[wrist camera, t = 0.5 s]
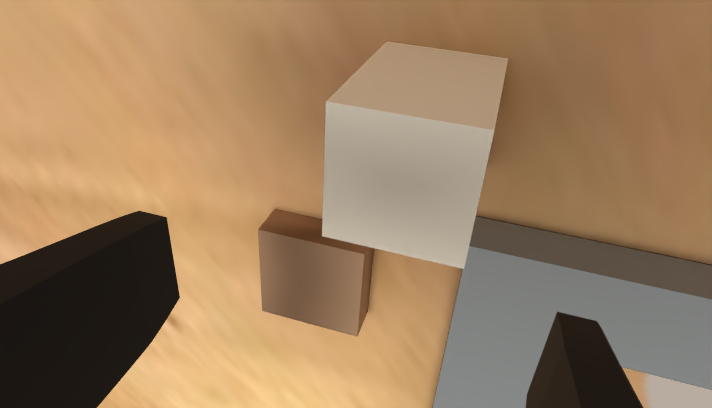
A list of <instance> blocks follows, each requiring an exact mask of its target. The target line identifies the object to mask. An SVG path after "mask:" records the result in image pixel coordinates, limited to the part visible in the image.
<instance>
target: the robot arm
mask: <svg viewBox="0 0 712 408" xmlns="http://www.w3.org/2000/svg"><path fill="white" fill-rule="evenodd" d="M179 298H180V296H179V290H178V284H177V278H176V272H175V266H174V260H173V254H172V248H171V242H170V235H169V229H168V223H167V217H163V216H159V215H154V214H150V213H146V212H142V211H137V212H134V213H131V214H128V215H125V216H122V217H119V218H116V219H114V220H111V221H108V222H106V223H103V224H101V225H98V226H96V227H93V228H91V229H88V230H86V231H83V232H81V233H78V234H76V235H73V236H71V237H68V238H66V239H63V240H61V241H58V242H56V243H53V244H51V245H48V246H46V247H43V248H41V249H38V250H36V251H34V252H31V253H29V254H26V255H24V256H21V257H19V258H16V259H14V260H11V261H8V262H6V263H3V264H0V408H97V407H98V406H99V404H100V403H101V402H102V401H103V400H104V399H105V397H106V396H107V395H108V394H109V393H110V391H111V390H112V389H113V388H114V387H115V386H116V384H117V383H118V382H119V381H120V380H121V378H122V377H123V376H124V375H125V374H126V372H127V371H128V370H129V369H130V368H131V366H132V365H133V364H134V363H135V362H136V360H137V359H138V358H139V357H140V356H141V354H142V353H143V352H144V351H145V349H146V348H147V347H148V346H149V344H150V343H151V342H152V341H153V339H154V338H155V336H156V334H157V333H158V331H159V330H160V328H161V327H162V325H163V324H164V322H165V321H166V319H167V318H168V316H169V314H170V313H171V311H172V309H173V308H174V306H175V304H176V303H177V301H178V299H179ZM526 408H643V406H642V405H641V403H640V401H639V399H638V397H637V395H636V393H635V392H634V390H633V388H632V386H631V384H630V382H629V380H628V379H627V377H626V375H625V373H624V371H623V369H622V367H621V365H620V363H619V361H618V359H617V357H616V355H615V353H614V351H613V349H612V347H611V346H610V344H609V342H608V340H607V338H606V336H605V334H604V332H603V330H602V328H601V326H600V325H599V323H598V322H597V321H594V320H590V319H586V318H582V317H578V316H573V315H569V314H565V313H561V312H557V313H556V316H555V319H554V322H553V324H552V327H551V330H550V332H549V335H548V338H547V341H546V343H545V346H544V349H543V352H542V354H541V357H540V360H539V363H538V365H537V368H536V371H535V373H534V376H533V379H532V382H531V384H530V387H529V390H528V393H527V399H526Z"/></svg>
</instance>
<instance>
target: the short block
mask: <svg viewBox="0 0 712 408" xmlns="http://www.w3.org/2000/svg"><path fill="white" fill-rule="evenodd" d="M258 235H259V255H260V274H261V294H262V311H265V312H269V313H272V314H276V315H280V316H283V317H287V318H291V319H294V320H298V321H302V322H305V323H309V324H313V325H316V326H320V327H324V328H327V329H331V330H335V331H338V332H342V333H346V334H349V335H353V336H358V334H359V331H360V329H361V326H362V324H363V322H364V319H365V317H366V314H367V312H368V304H369V294H370V283H371V273H372V262H373V252H374V248H371V247H366V246H362V245H358V244H354V243H349V242H345V241H341V240H336V239H332V238H328V237H323V236H322V219H317V218H313V217H308V216H304V215H299V214H295V213H290V212H286V211H282V210H277V209H275V210H274V211H273V212H272V214H271V215H270V216H269V217H268V218H267V220H266V221H265V222H264V223H263V224H262V226H261V227H260V228H259V229H258Z"/></svg>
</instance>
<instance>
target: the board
mask: <svg viewBox="0 0 712 408" xmlns="http://www.w3.org/2000/svg"><path fill="white" fill-rule="evenodd" d="M557 312H561V313H565V314H569V315H573V316H578V317H582V318H586V319H590V320H594V321H597V322H598V323H599V325H600V326H601V328H602V330H603V332H604V334H605V336H606V338H607V340H608V342H609V344H610V346H611V347H612V349H613V351H614V353H615V355H616V357H617V359H618V361H619V363H620V365H621V367H624V368H628V369H632V370H636V371H640V372H644V373H648V374H651V375H656V376H660V377H663V378H667V379H671V380H675V381H679V382H683V383H687V384H691V385H695V386H698V387H703V388H707V389H710V390H712V265H707V264H703V263H698V262H693V261H688V260H683V259H679V258H674V257H669V256H664V255H659V254H655V253H650V252H645V251H640V250H635V249H631V248H626V247H621V246H616V245H611V244H606V243H602V242H597V241H592V240H587V239H582V238H578V237H573V236H568V235H563V234H558V233H554V232H549V231H544V230H539V229H534V228H530V227H525V226H520V225H515V224H510V223H506V222H501V221H496V220H491V219H486V218H482V217H477V216H476V217H475V222H474V226H473V231H472V235H471V240H470V244H469V249H468V253H467V258H466V263H465V267H464V269H462V274H461V279H460V283H459V288H458V292H457V297H456V302H455V306H454V311H453V315H452V320H451V325H450V329H449V334H448V338H447V343H446V347H445V352H444V357H443V361H442V366H441V370H440V375H439V380H438V384H437V389H436V393H435V398H434V403H433V407H432V408H526V399H527V393H528V390H529V387H530V384H531V382H532V379H533V376H534V373H535V371H536V368H537V365H538V363H539V360H540V357H541V354H542V352H543V349H544V346H545V343H546V341H547V338H548V335H549V332H550V330H551V327H552V324H553V322H554V319H555V316H556V313H557Z"/></svg>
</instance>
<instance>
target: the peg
mask: <svg viewBox="0 0 712 408" xmlns="http://www.w3.org/2000/svg"><path fill="white" fill-rule="evenodd" d="M507 63H508V58H502V57H495V56H488V55H481V54H474V53H467V52H460V51H452V50H445V49H438V48H431V47H424V46H417V45H410V44H403V43H396V42H388V41H386V42H385V43H384V44H383V45H382V46H381V47H380V48H379V49H378V50H377V51H376V52H375V53H374V54H373V55H372V56H371V57H370V58H369V59H368V60H367V61H366V62H365V63H364V64H363V65H362V66H361V67H360V68H359V69H358V70H357V71H356V72H355V73H354V74H353V75H352V76H351V77H350V78H349V79H348V80H347V81H346V82H345V83H344V84H343V85H342V86H341V87H340V88H339V89H338V90H337V91H336V92H335V93H334V94H333V95H332V96H331V97H330V98H329V99H328V100H327V101H326V116H325V150H324V185H323V219H322V236H323V237H328V238H332V239H336V240H341V241H345V242H349V243H354V244H358V245H362V246H366V247H371V248H375V249H379V250H384V251H388V252H392V253H397V254H401V255H405V256H410V257H414V258H418V259H423V260H427V261H431V262H436V263H440V264H444V265H449V266H453V267H457V268H462V269H464V267H465V263H466V258H467V253H468V249H469V244H470V240H471V235H472V231H473V226H474V222H475V217H476V212H477V208H478V203H479V199H480V194H481V190H482V185H483V181H484V176H485V171H486V167H487V162H488V158H489V153H490V149H491V144H492V140H493V135H494V130H495V125H496V120H497V115H498V110H499V105H500V99H501V94H502V89H503V84H504V79H505V73H506V68H507Z"/></svg>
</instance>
